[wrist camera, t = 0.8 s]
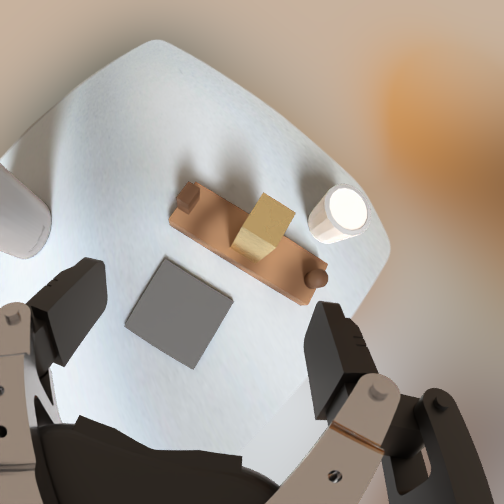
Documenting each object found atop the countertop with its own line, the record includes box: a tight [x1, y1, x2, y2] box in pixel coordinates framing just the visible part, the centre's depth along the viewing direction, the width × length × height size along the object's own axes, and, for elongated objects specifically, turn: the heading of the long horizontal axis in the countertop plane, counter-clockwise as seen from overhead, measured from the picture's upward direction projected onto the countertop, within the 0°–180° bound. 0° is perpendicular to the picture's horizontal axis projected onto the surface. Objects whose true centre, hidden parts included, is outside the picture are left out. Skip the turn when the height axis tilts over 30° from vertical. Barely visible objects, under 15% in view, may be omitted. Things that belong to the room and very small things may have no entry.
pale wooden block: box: [230, 192, 295, 264], centre depth 30 cm, size 4×4×9 cm
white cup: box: [308, 184, 371, 244], centre depth 37 cm, size 7×7×7 cm
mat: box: [124, 259, 234, 370], centre depth 33 cm, size 10×10×1 cm
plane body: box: [168, 181, 328, 305], centre depth 34 cm, size 20×6×6 cm, turn 60°
